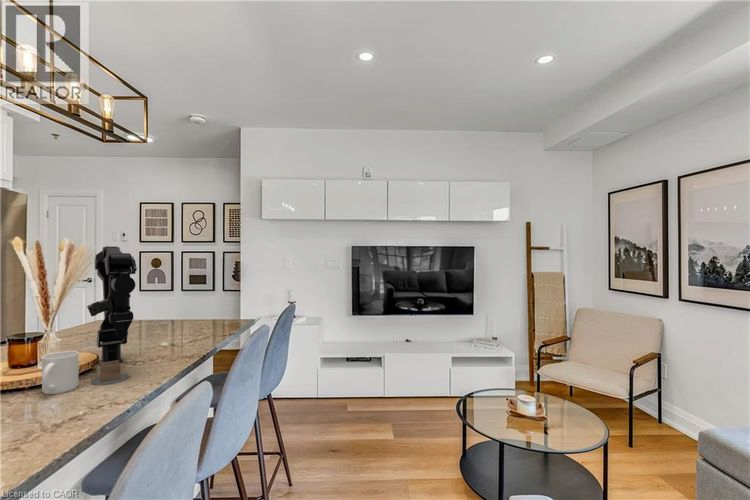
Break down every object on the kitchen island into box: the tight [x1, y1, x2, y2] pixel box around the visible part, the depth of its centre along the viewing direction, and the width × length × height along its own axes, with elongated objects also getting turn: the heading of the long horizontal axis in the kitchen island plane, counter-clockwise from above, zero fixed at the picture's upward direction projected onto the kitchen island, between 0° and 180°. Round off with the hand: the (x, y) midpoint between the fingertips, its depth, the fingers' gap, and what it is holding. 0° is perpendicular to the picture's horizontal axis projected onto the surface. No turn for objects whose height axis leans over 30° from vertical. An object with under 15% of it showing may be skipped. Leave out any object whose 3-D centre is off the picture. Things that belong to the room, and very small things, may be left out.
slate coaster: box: [90, 373, 130, 386], centre depth 121 cm, size 10×10×1 cm
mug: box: [41, 350, 80, 395], centre depth 111 cm, size 12×8×10 cm
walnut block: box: [99, 360, 122, 383], centre depth 121 cm, size 5×5×5 cm
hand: (119, 338), depth 127 cm, fingers open, 9 cm apart
